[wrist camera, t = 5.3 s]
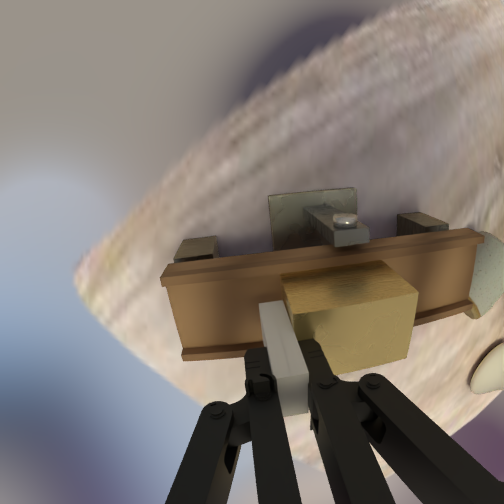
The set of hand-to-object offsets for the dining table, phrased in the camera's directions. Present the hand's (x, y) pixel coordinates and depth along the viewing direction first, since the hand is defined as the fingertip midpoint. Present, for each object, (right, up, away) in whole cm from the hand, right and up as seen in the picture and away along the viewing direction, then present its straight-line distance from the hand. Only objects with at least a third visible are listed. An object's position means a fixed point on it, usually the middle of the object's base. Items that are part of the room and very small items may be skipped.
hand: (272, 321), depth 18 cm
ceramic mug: (+26, +2, +13) cm, 29 cm away
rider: (+4, +1, +2) cm, 5 cm away
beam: (+5, +1, +2) cm, 6 cm away
